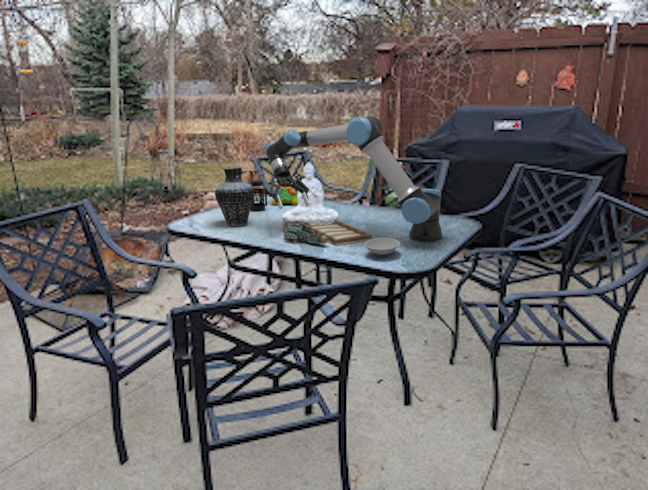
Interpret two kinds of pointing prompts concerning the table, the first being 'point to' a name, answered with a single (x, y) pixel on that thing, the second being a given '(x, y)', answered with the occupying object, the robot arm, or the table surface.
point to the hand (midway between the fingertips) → (294, 206)
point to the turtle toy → (287, 195)
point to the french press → (259, 206)
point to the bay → (339, 233)
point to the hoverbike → (304, 235)
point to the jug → (235, 196)
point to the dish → (382, 245)
